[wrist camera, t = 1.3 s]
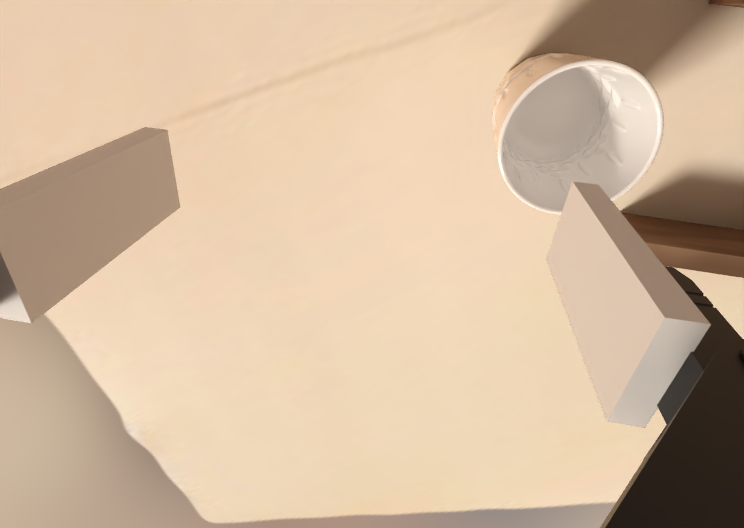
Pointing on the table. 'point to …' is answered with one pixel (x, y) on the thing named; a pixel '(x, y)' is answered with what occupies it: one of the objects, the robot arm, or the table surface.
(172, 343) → the table surface
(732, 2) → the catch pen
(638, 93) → the white cup
